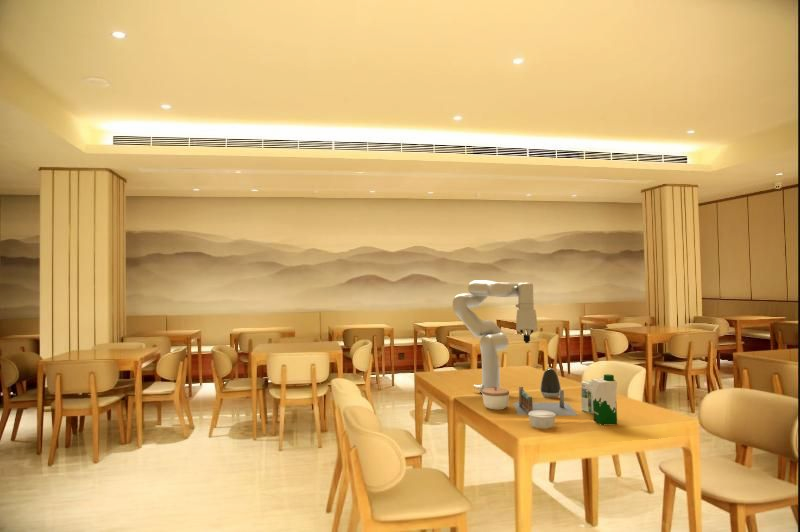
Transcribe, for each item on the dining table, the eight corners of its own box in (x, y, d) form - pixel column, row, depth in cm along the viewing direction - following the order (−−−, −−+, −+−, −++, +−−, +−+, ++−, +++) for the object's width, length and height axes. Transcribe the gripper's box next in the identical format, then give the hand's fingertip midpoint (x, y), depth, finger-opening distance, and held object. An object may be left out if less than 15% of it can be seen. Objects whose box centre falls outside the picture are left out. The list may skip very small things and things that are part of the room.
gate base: (517, 417, 235) (517, 393, 235) (513, 404, 258) (513, 383, 259) (578, 418, 231) (577, 394, 231) (568, 405, 255) (567, 383, 255)
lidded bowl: (493, 414, 240) (493, 390, 240) (477, 408, 251) (476, 385, 252) (515, 410, 246) (514, 387, 246) (498, 405, 257) (497, 382, 257)
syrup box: (581, 413, 239) (580, 381, 240) (591, 412, 242) (590, 380, 242) (589, 416, 234) (589, 383, 235) (600, 414, 236) (599, 382, 237)
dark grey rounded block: (562, 396, 274) (561, 367, 274) (559, 400, 264) (558, 370, 265) (542, 395, 278) (541, 366, 279) (538, 399, 269) (538, 369, 269)
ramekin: (544, 431, 213) (543, 418, 213) (522, 425, 222) (522, 412, 222) (561, 426, 219) (561, 413, 219) (540, 421, 228) (539, 408, 228)
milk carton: (620, 425, 220) (619, 376, 220) (599, 425, 219) (598, 377, 219) (610, 419, 228) (609, 373, 229) (590, 420, 228) (589, 373, 228)
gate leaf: (520, 406, 247) (520, 390, 248) (523, 406, 248) (523, 390, 248) (529, 414, 232) (528, 397, 232) (532, 414, 232) (532, 397, 232)
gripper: (511, 307, 266) (512, 343, 265) (542, 307, 264) (542, 343, 263) (510, 306, 273) (511, 341, 273) (540, 306, 271) (541, 341, 271)
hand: (526, 342), depth 268 cm, fingers closed
